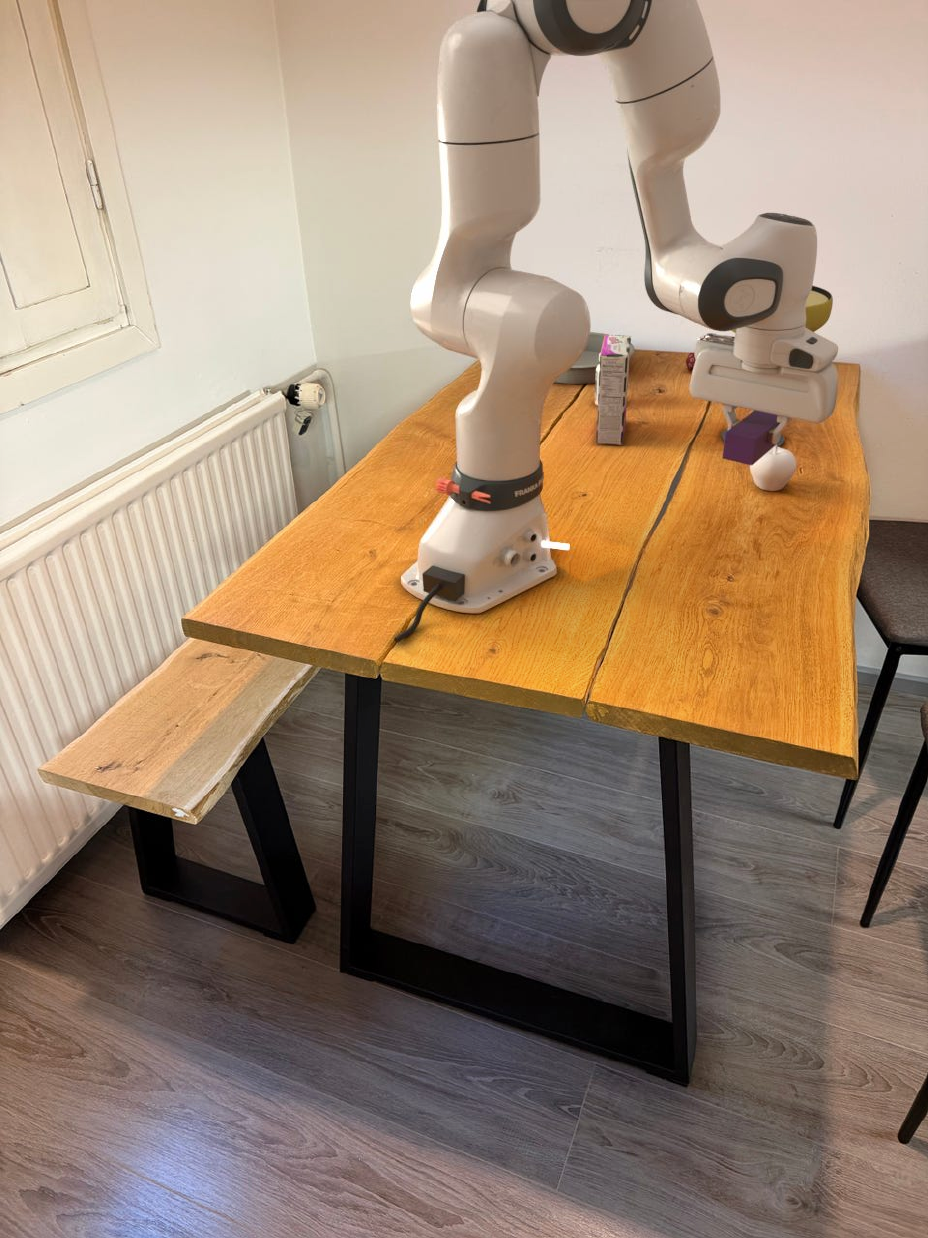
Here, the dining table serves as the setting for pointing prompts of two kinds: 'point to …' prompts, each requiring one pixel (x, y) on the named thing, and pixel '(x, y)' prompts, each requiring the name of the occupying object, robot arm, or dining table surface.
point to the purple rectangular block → (749, 438)
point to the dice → (690, 361)
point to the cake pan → (587, 362)
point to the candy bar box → (613, 389)
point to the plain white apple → (773, 469)
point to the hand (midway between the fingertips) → (753, 437)
